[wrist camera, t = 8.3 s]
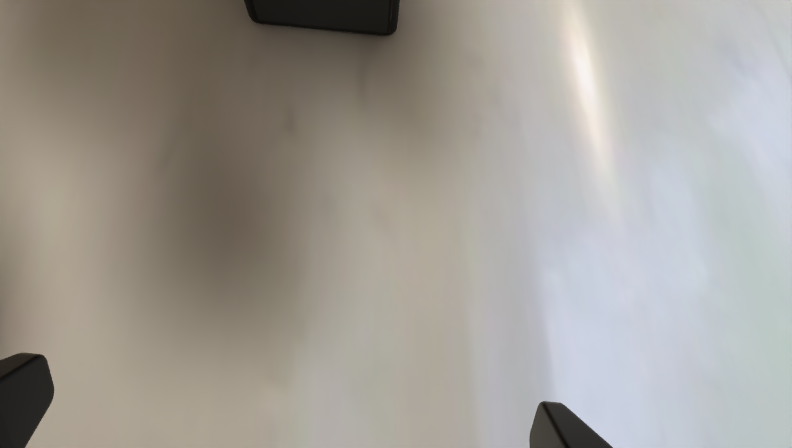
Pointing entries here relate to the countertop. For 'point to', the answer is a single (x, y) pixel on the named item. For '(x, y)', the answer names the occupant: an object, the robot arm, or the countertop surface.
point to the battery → (328, 14)
